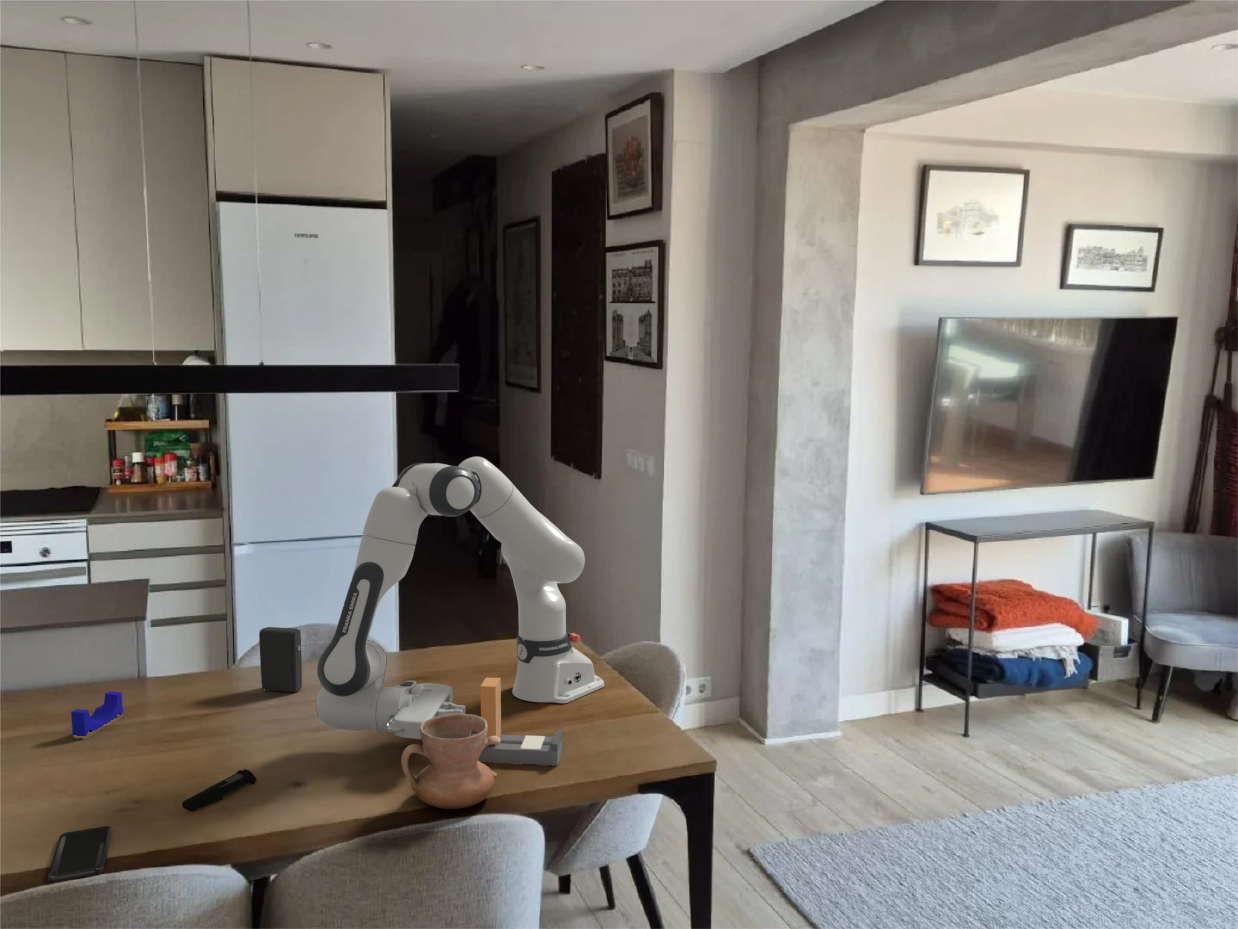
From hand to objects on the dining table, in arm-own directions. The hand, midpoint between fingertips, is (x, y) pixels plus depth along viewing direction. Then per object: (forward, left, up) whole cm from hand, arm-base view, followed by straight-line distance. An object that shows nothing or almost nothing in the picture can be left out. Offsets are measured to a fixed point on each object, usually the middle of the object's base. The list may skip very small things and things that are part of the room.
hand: (463, 712), depth 203 cm
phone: (+69, -6, -9) cm, 70 cm away
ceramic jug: (+12, +15, -9) cm, 21 cm away
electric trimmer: (+44, -13, -9) cm, 47 cm away
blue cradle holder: (+54, -62, -9) cm, 83 cm away
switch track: (-7, +7, -9) cm, 13 cm away
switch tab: (-4, +4, -5) cm, 8 cm away
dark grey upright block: (+14, -58, -9) cm, 61 cm away
